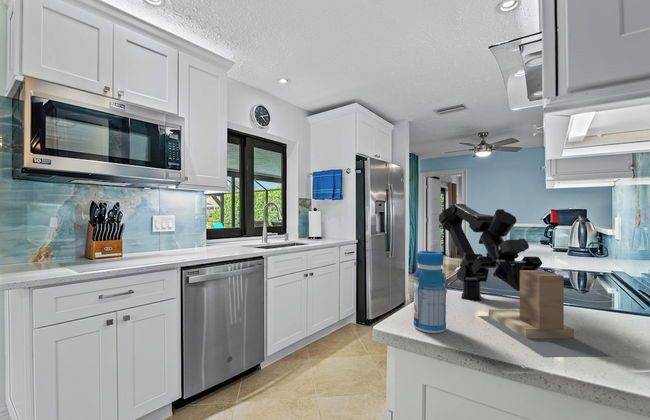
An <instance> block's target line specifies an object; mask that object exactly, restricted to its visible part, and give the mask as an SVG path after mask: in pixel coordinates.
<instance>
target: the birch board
mask: <svg viewBox="0 0 650 420" xmlns="http://www.w3.org/2000/svg"><path fill="white" fill-rule="evenodd" d="M488 316H489V317H490V318H492V319H494V320H496V321H497V322H499V323H501V324H502V325H504V326H506V327H507V328H509V329H511V330H513V331H514V332H516V333H518V334H519V335H521V336H523V337H525V338H575V328H572V327H571V326H568V325H566V324H564V330H539V329H537V328H535V327H533V326H531V325H529V324H527V323H525V322H523V321H521V320H520V308H489V309H488Z"/></svg>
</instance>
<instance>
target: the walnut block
mask: <svg viewBox="0 0 650 420" xmlns="http://www.w3.org/2000/svg"><path fill="white" fill-rule="evenodd" d="M564 280H565V277H564V275H562V274H557V273H553V272H550V271H545V270H542V269H541V270H539V269H537V270H520V291H519V309H520V320H521V321H523V322H525V323H527V324H529V325H531V326H533V327H535V328H537V329H539V330H564V325H565V324H564V322H565V321H564V319H565V318H564V315H565V312H564V311H565V310H564V308H565V306H564V302H565V301H564V300H565V299H564V298H565V297H564V295H565V293H564V290H565V289H564V286H565V282H564Z"/></svg>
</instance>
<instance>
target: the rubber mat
mask: <svg viewBox="0 0 650 420" xmlns="http://www.w3.org/2000/svg"><path fill="white" fill-rule="evenodd" d="M477 317H479V318H480V319H482V320H483V321H485V322H487V324H489V325H491V326H493V327H494V328H496V329H498V330H499V331H501V332H502V333H504V334H506V335H507V336H509V337H510V338H511V339H514V340H515V341H517V342H518V343H520V344H522V345H523V346H524V347H527V348H528V349H529V350H531V351H533V352H534V353H536V354H538V355H539V356H542V357H543V358H578V357H579V358H585V357H586V358H592V357H593V358H594V357H595V358H598V357H599V358H600V357H601V358H602V357H605V358H606V357H613V355H610V354H609V353H606V352H605V351H602V350H600V349H598V348H596V347H594V346H592V345H589V344H587V343H585V342H583V341H582V340H579V339H577V338H575V337H574V338H525V337H523V336H521V335H519V334H518V333H516V332H514V331H513V330H511V329H509V328H507V327H506V326H504V325H502V324H501V323H499V322H497V321H496V320H494V319H492V318H490V317H489V315H478V316H477Z"/></svg>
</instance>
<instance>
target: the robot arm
mask: <svg viewBox="0 0 650 420" xmlns="http://www.w3.org/2000/svg"><path fill="white" fill-rule="evenodd" d="M438 221H439V223H440V225H441V226H442V228H443V229H444V230H446V231H448V232H449V234H450V236H451V238H452V241H453V243H454V245H455V247H456V250H457V252H458V254H459V256H460V258H461V261H460V264H459V269H458V271H457V272H456V279H457V280H459V281H460V282H462V293H461V299H466V300H475V301H482V300H483V298H482V294H481V282H482V283H484V282H485V283H486V282H487V280H488V276H489V271H490V270H489V269H493V271H494V272H493V274H492V276H493V277H497V278H498V279H500V280H501V281H503V282H504V283H506V284H507V285H509V286H510V287H511V288H513V289H514V290H515V291H517V292H520V270H539V268H540V267H541V266H542V265H543V264H544V263H543V261H542V260H541V258H540V257H539V256H534V255H533V256H527V255H524V256H523V257H522V259H521V260H515V259H518V258H519V254H520V253H521V252H525V251H526V250H528V249H530V244H529V243H528V241H527V240H526V239H525V238H518V239H506V240H505V239H504V238H503V237H507V236H508V234H509V233H510V232H511V230H512V229H513V228H514V226H515V224H516V223H517V218H516V216H515V215H513V214H511V213H509V212H507V211H505V209H502V208H501V209H500V208H499V209H496V210H495V212H494V214H493V215H490V214H485V213H479V212H477V211H476V210H475V209H472V208H471V207H469V206H467V205H466V204H464V203H453V204H451V205H450V207H447V208H445V209H443V210H442V211H441V213H440V214H439V215H438ZM463 221H466V222H467V223H468V224H469V225H468V228H470V230H471V231H472V232H473V233H481V235H480V238H479V240H478V244H479V245H483V246H484V248H485V249H486V252H487V253H486V254H485V256H484V255H483V254H482V253H475V250H474V249H473V247H472V245H471V243H470V241H469V239H468V237H467V235H466V233H465V232H464V229H463V227H462V224H463Z"/></svg>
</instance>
